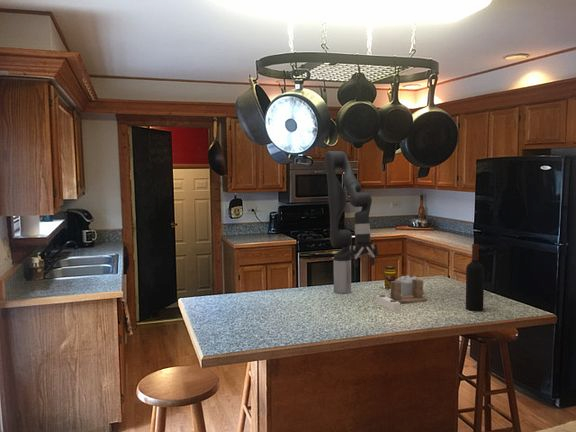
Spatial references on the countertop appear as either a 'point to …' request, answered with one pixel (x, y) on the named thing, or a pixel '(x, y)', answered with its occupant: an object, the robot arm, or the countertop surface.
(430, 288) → the countertop surface
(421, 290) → the stand
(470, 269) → the wine bottle
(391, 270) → the condiment
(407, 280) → the paw print tray
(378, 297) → the frame bar
